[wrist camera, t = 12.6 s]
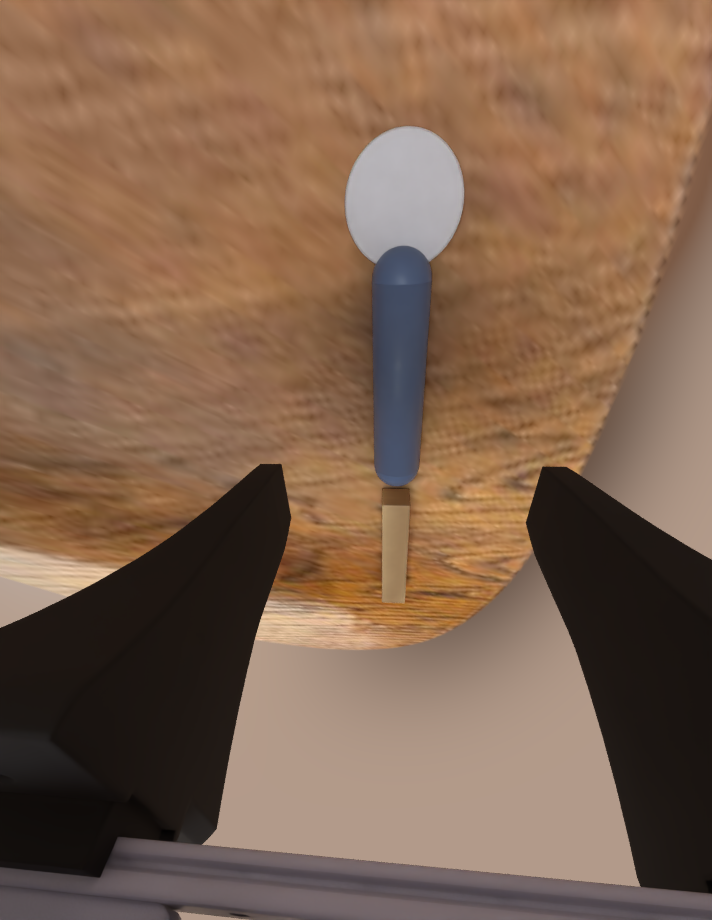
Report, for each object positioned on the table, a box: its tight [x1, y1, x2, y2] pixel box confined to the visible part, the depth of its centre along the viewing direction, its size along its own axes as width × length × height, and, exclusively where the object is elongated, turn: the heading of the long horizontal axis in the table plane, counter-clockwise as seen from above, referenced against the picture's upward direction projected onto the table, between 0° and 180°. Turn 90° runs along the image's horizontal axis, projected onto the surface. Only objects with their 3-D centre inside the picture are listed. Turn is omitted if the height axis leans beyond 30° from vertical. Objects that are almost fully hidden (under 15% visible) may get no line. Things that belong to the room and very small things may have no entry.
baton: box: [382, 488, 410, 603], centre depth 24 cm, size 2×9×2 cm, turn 2°
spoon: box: [345, 126, 464, 486], centre depth 16 cm, size 15×4×2 cm, turn 2°
